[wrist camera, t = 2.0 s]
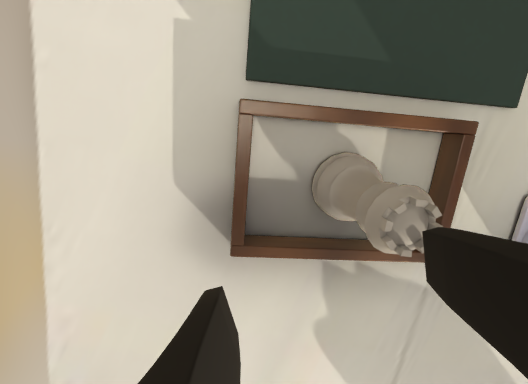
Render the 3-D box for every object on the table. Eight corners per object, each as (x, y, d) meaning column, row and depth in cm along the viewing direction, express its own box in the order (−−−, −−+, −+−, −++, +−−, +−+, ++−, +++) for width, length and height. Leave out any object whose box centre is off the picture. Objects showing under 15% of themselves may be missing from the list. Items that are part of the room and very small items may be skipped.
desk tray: (457, 121, 19) (479, 121, 17) (424, 251, 21) (441, 263, 19) (239, 100, 17) (239, 98, 15) (230, 244, 19) (230, 256, 18)
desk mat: (546, -11, 17) (553, -14, 17) (511, 107, 19) (517, 107, 18) (254, -59, 15) (255, -63, 15) (245, 80, 17) (245, 79, 16)
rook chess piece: (324, 142, 18) (389, 160, 10) (383, 163, 19) (485, 194, 11) (300, 204, 19) (344, 263, 11) (357, 222, 20) (434, 288, 12)
